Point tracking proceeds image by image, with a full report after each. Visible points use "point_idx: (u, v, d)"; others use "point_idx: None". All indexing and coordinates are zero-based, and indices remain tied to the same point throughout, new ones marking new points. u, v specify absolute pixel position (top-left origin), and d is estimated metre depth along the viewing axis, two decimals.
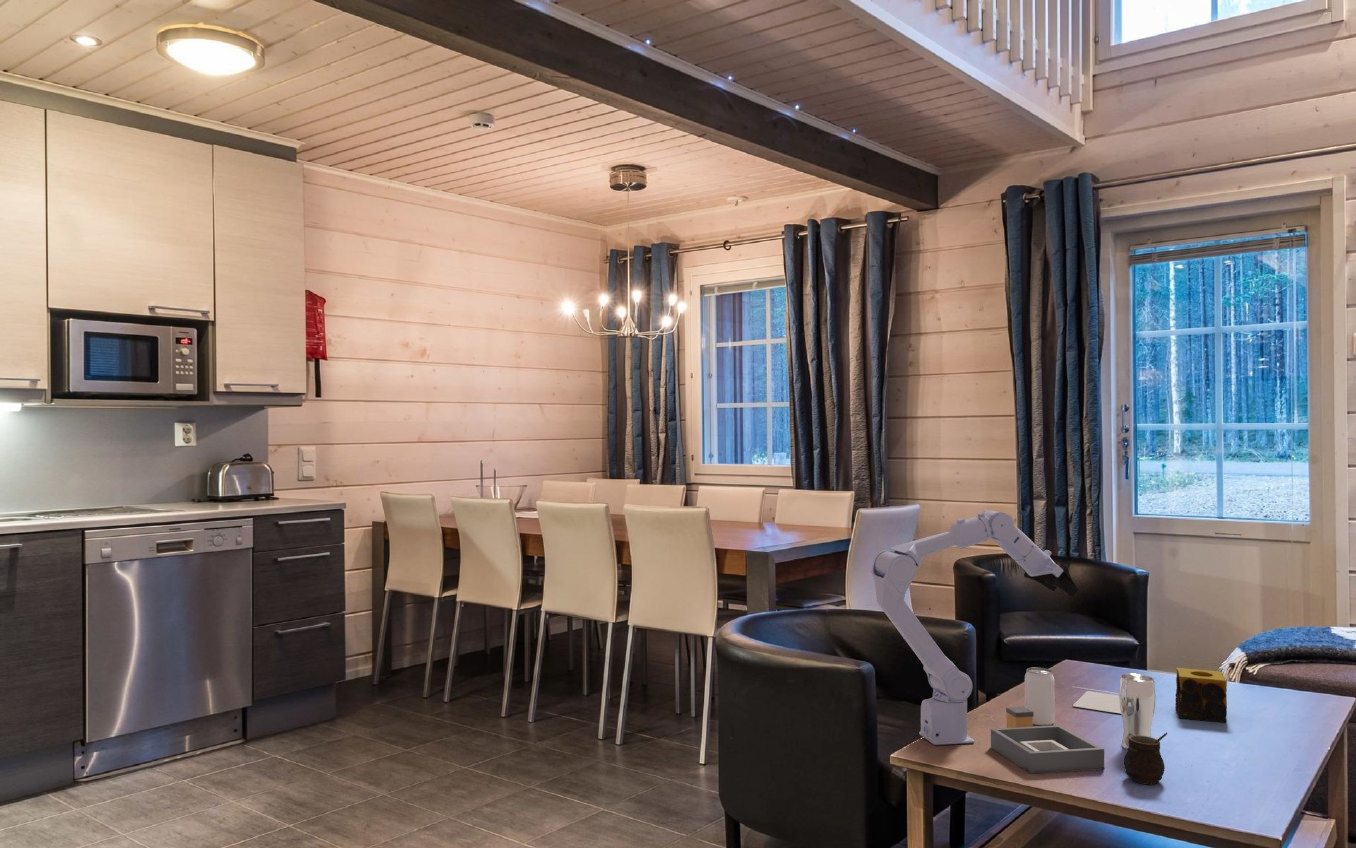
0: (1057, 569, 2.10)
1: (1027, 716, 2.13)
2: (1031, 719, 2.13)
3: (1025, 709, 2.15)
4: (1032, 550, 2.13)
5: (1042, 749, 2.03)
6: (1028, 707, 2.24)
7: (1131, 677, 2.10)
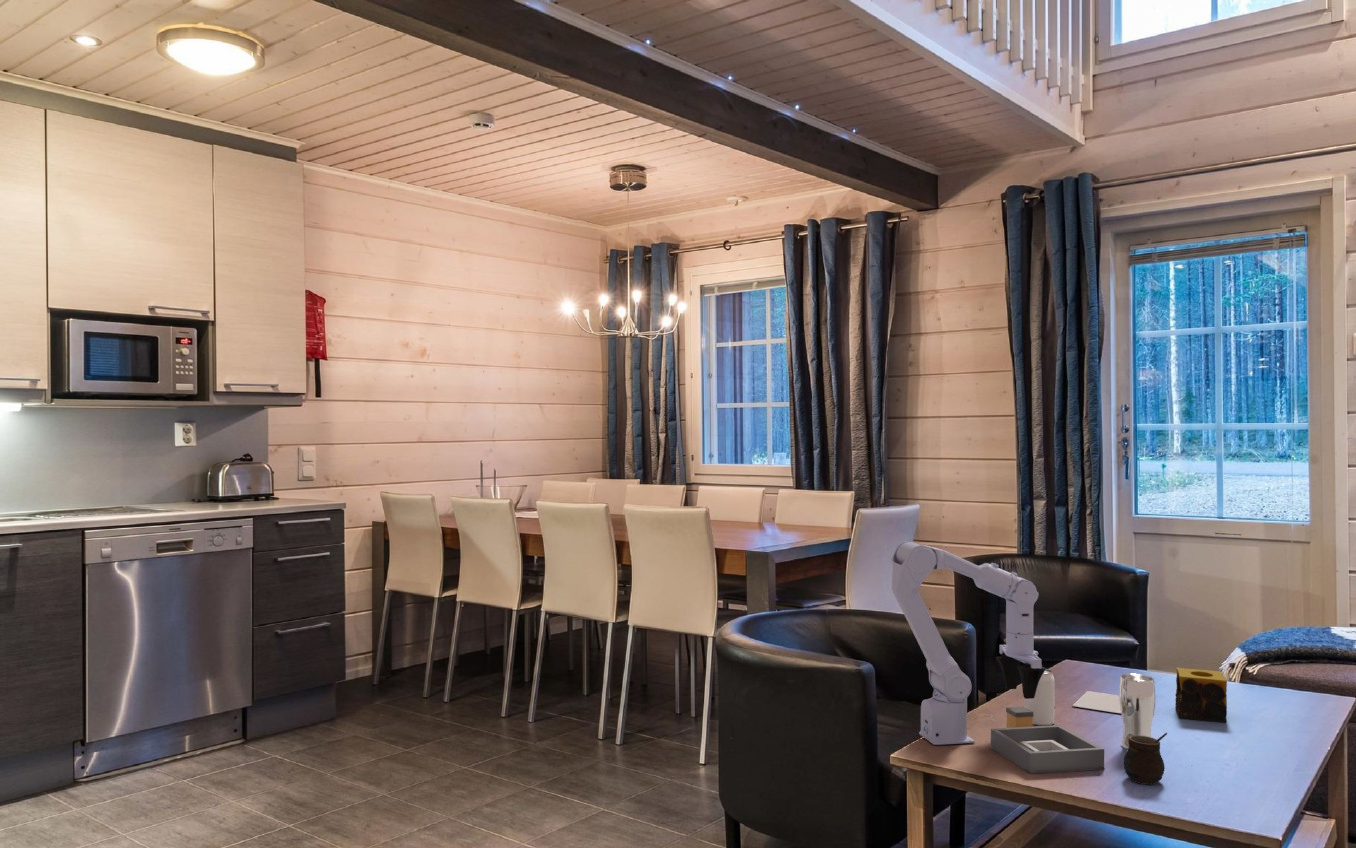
0: (1038, 662, 2.08)
1: (1027, 716, 2.13)
2: (1031, 719, 2.13)
3: (1025, 709, 2.15)
4: (1029, 635, 2.12)
5: (1042, 749, 2.03)
6: (1028, 707, 2.24)
7: (1131, 677, 2.10)
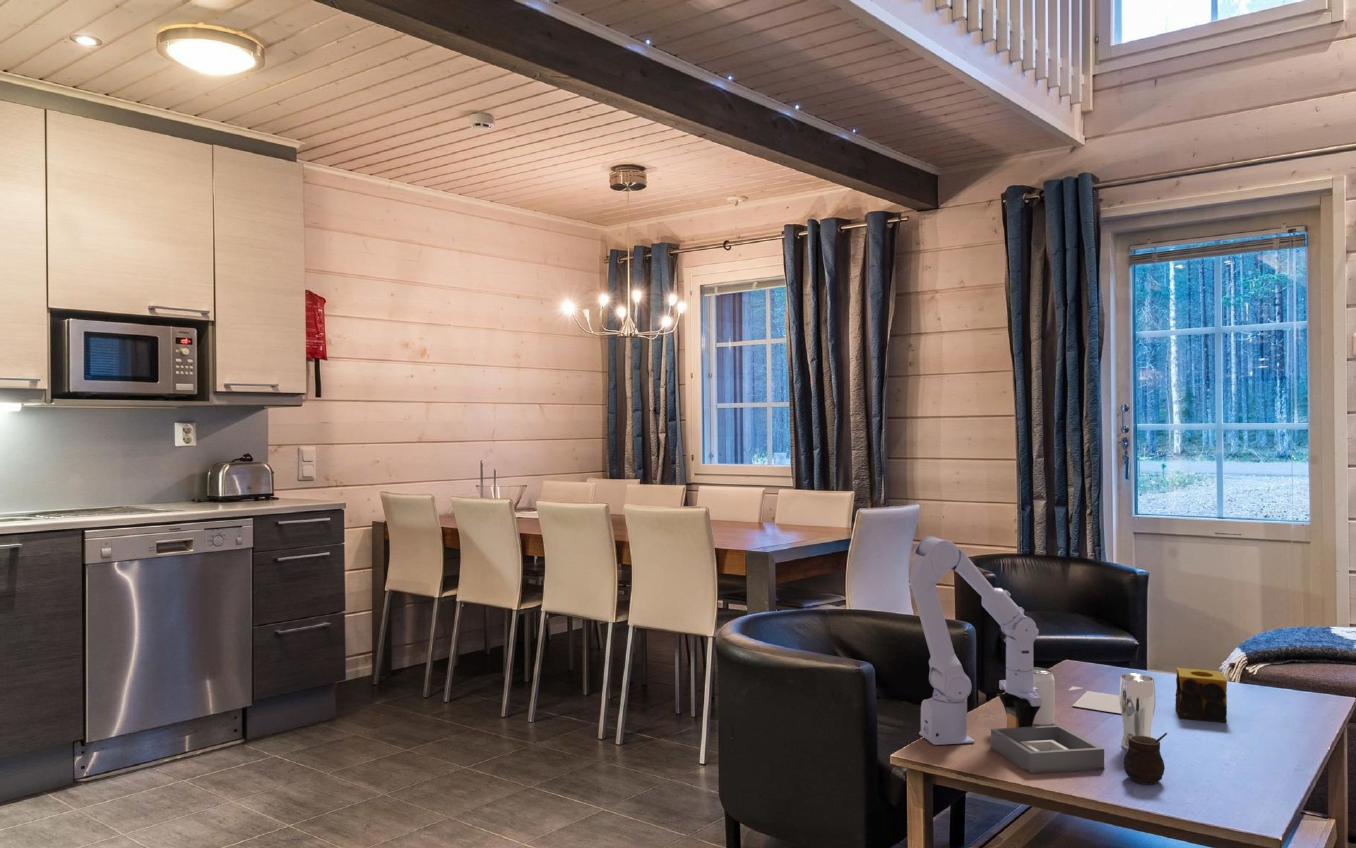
0: (1037, 700, 2.07)
1: None
2: None
3: None
4: (1029, 672, 2.12)
5: (1042, 749, 2.03)
6: None
7: (1131, 677, 2.10)
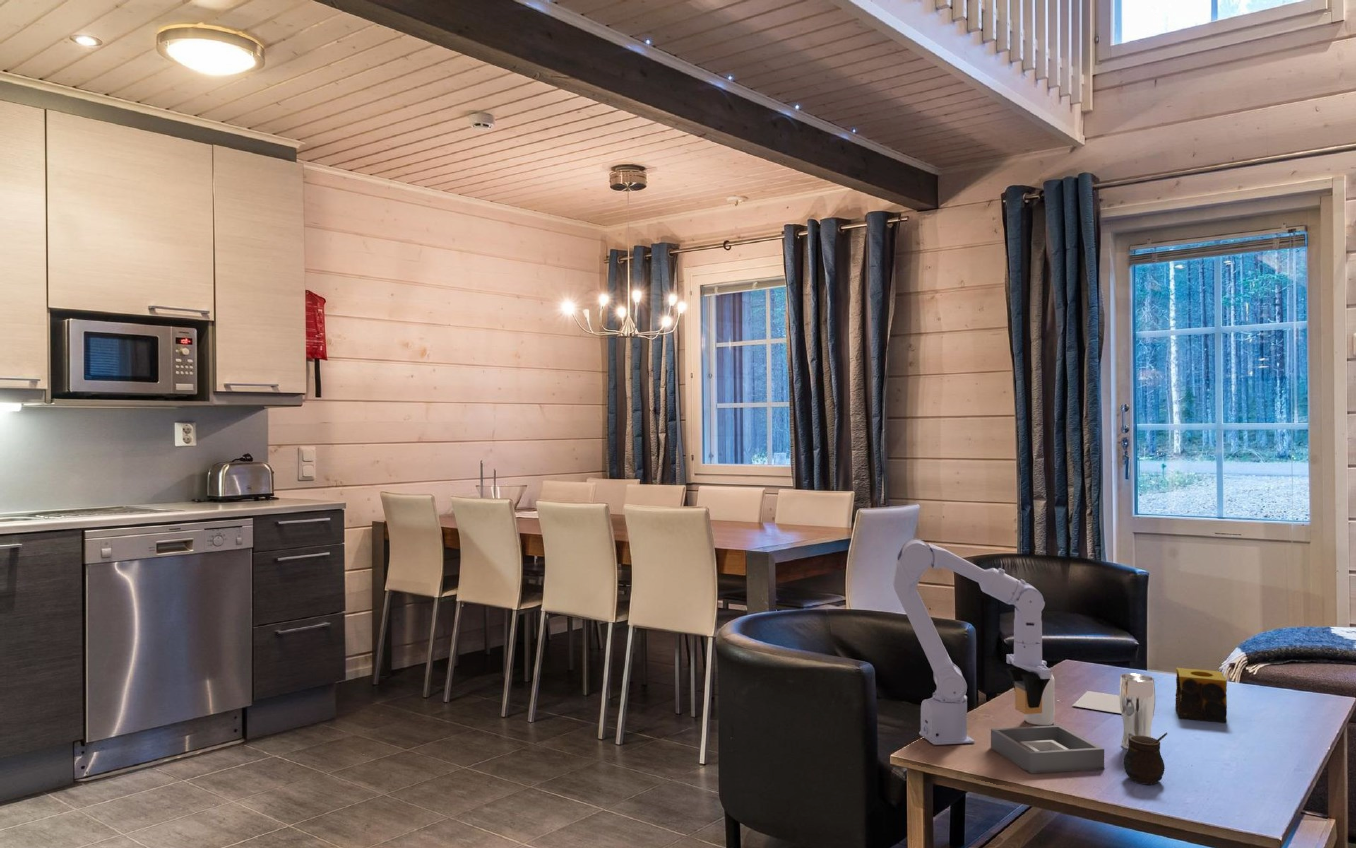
0: (1047, 672, 2.03)
1: None
2: None
3: None
4: (1037, 644, 2.07)
5: (1042, 749, 2.03)
6: None
7: (1131, 677, 2.10)
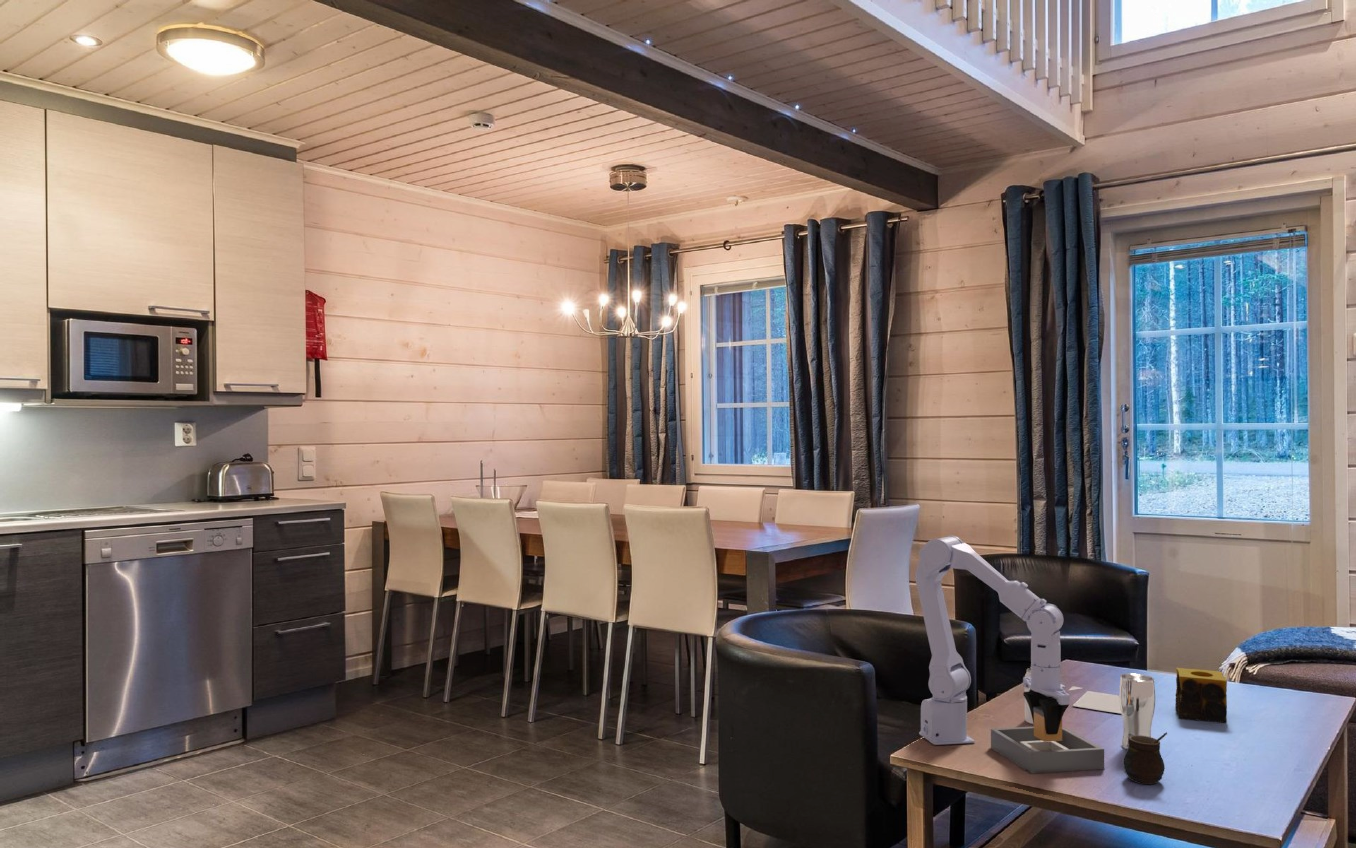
0: (1066, 698, 1.93)
1: None
2: (1061, 719, 1.99)
3: None
4: (1056, 668, 1.98)
5: (1042, 749, 2.03)
6: (1028, 707, 2.24)
7: (1131, 677, 2.10)
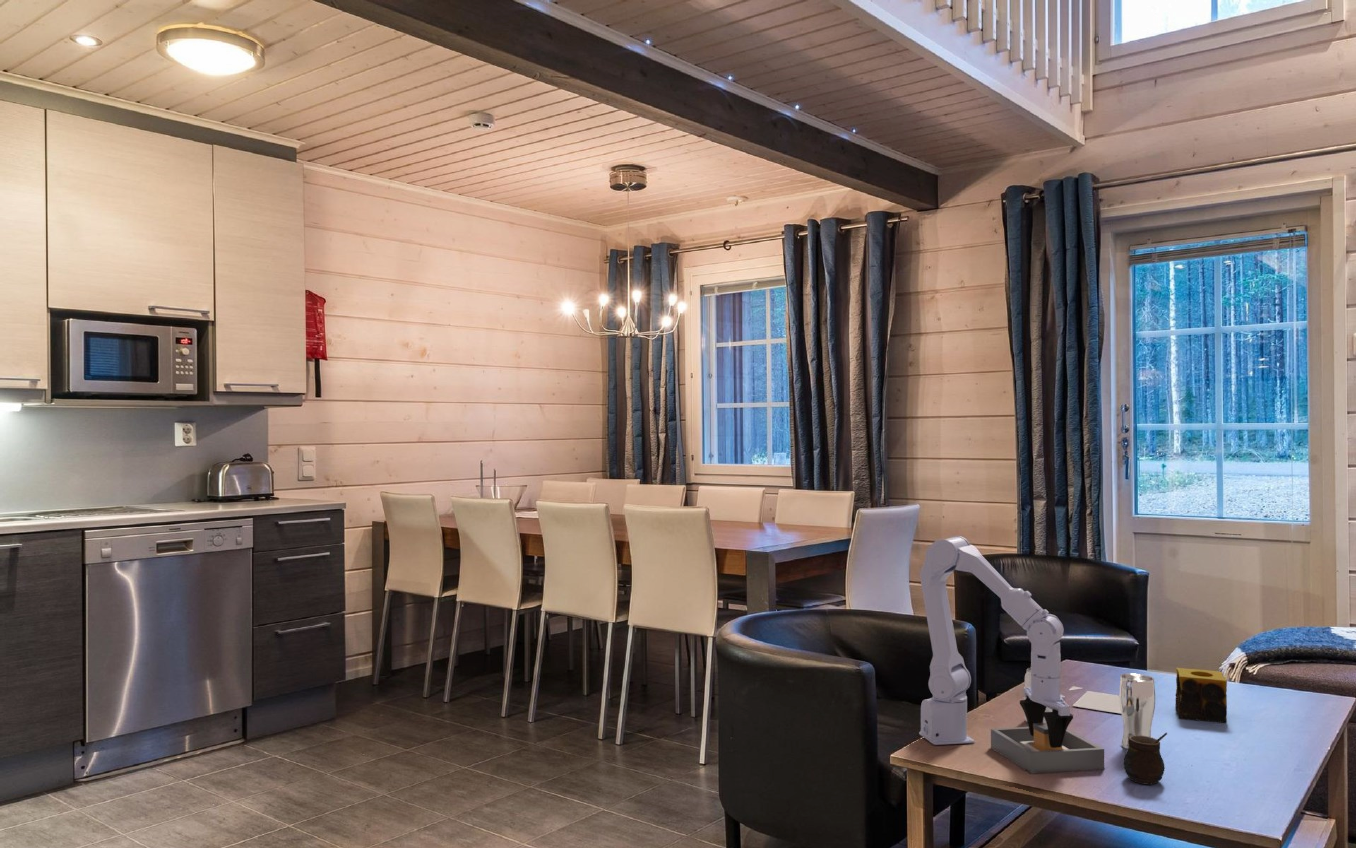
0: (1066, 709, 1.93)
1: None
2: None
3: None
4: (1056, 679, 1.98)
5: None
6: None
7: (1131, 677, 2.10)
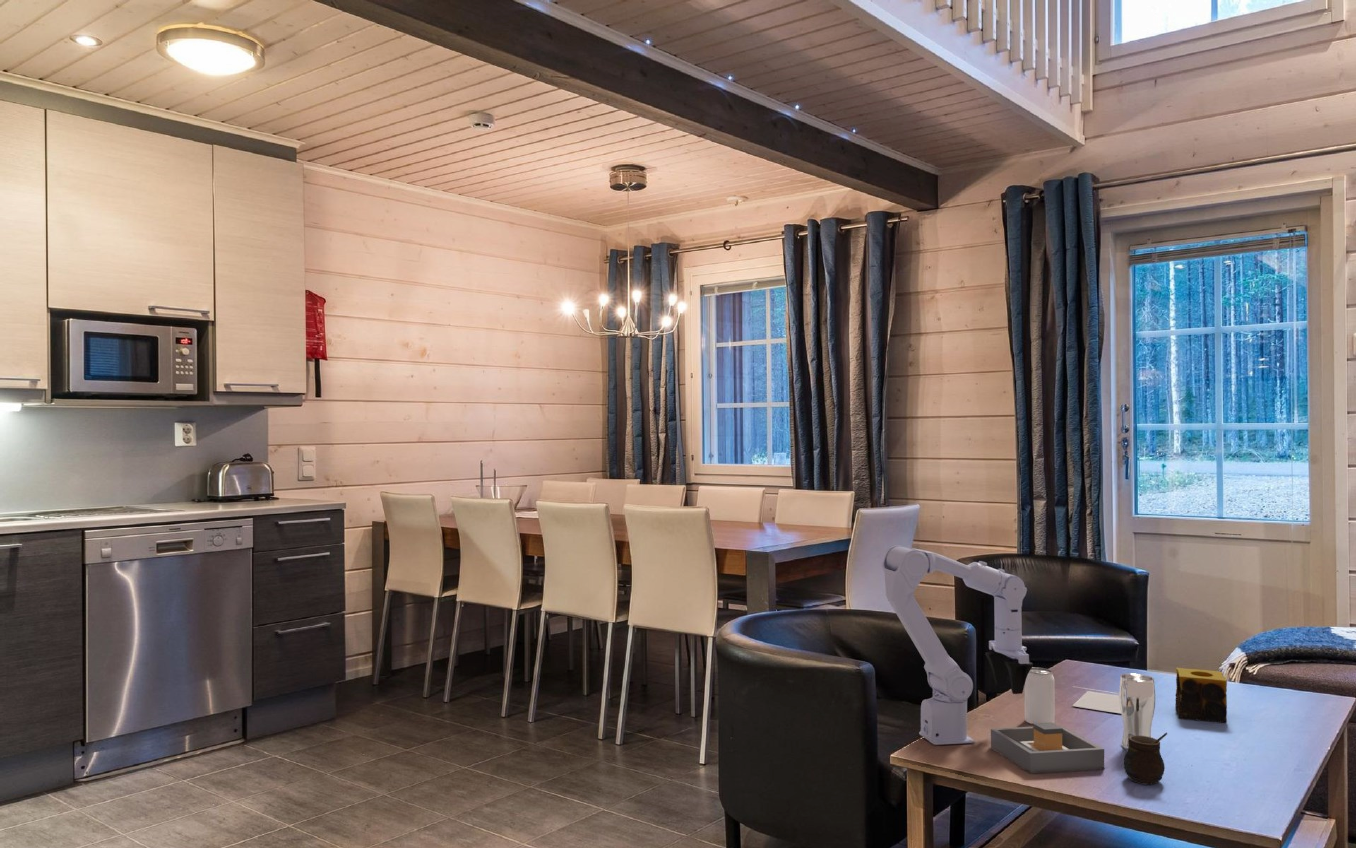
0: (1025, 657, 2.09)
1: (1056, 733, 1.99)
2: (1061, 736, 1.99)
3: (1054, 725, 2.01)
4: (1017, 631, 2.13)
5: None
6: (1028, 707, 2.24)
7: (1131, 677, 2.10)
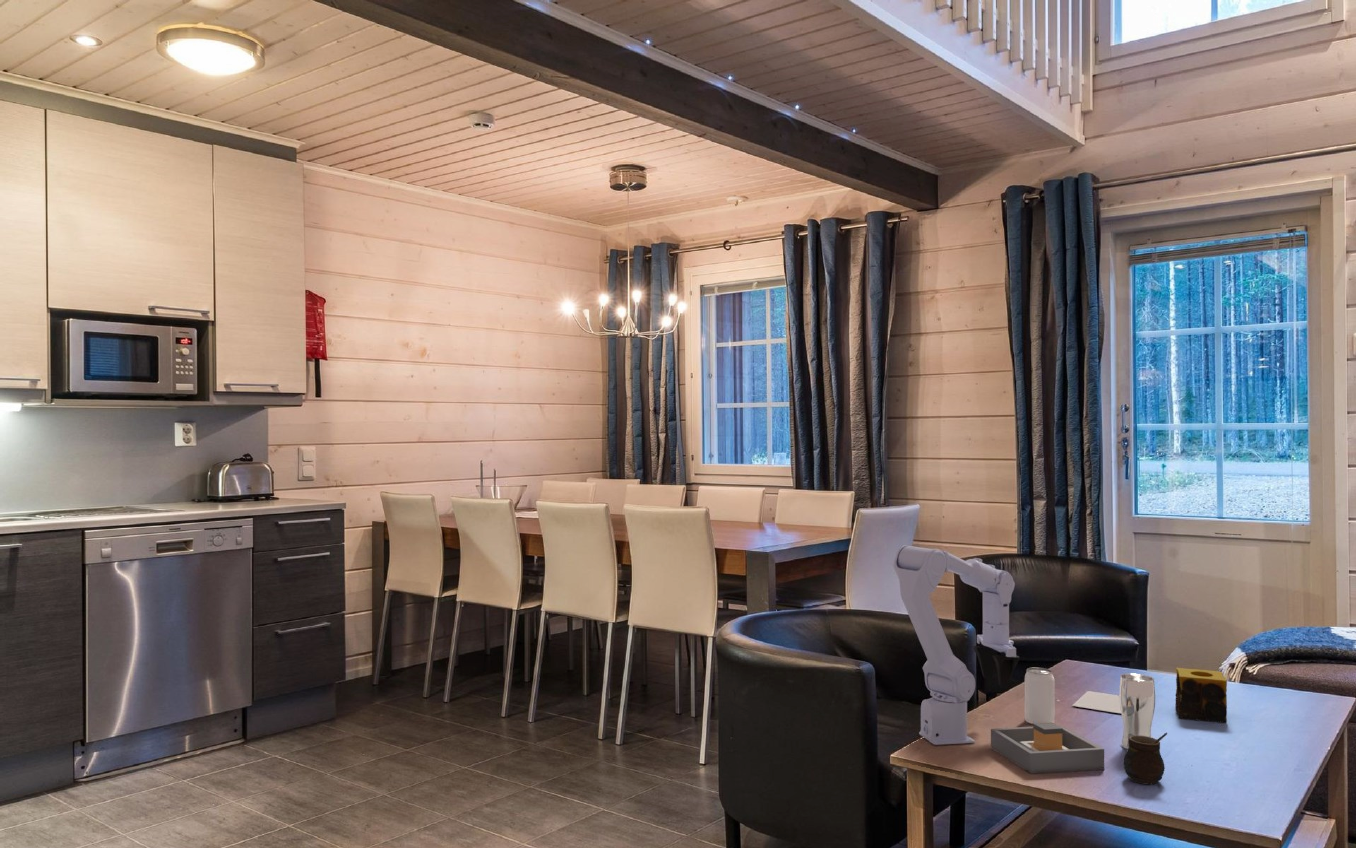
0: (1012, 651, 2.14)
1: (1056, 733, 1.99)
2: (1061, 736, 1.99)
3: (1054, 725, 2.01)
4: (1004, 625, 2.19)
5: None
6: (1028, 707, 2.24)
7: (1131, 677, 2.10)
